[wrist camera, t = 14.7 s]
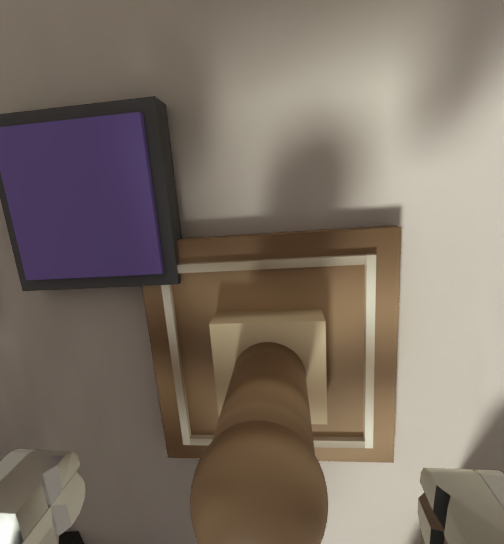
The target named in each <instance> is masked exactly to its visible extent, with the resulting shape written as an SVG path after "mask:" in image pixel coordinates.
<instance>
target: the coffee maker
mask: <svg viewBox="0 0 504 544" xmlns="http://www.w3.org/2000/svg"><path fill="white" fill-rule="evenodd" d="M59 544H84V543H83V541H82V539H81V536H80V534H79V532H78V531H77V532H66V533H62V534H61V535H59Z"/></svg>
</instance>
